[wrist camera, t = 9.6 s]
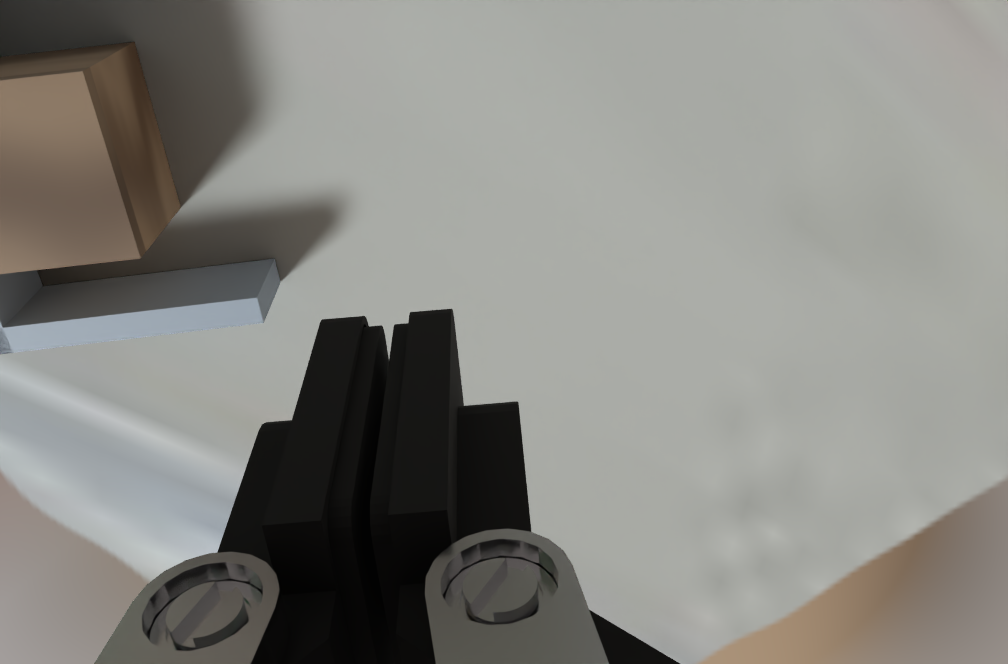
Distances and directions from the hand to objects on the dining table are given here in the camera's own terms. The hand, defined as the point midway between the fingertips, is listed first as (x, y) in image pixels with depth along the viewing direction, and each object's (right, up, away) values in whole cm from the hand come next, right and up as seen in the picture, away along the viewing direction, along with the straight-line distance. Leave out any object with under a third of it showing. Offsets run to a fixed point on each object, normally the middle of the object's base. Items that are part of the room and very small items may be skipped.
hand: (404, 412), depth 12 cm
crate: (-14, +8, +21) cm, 26 cm away
